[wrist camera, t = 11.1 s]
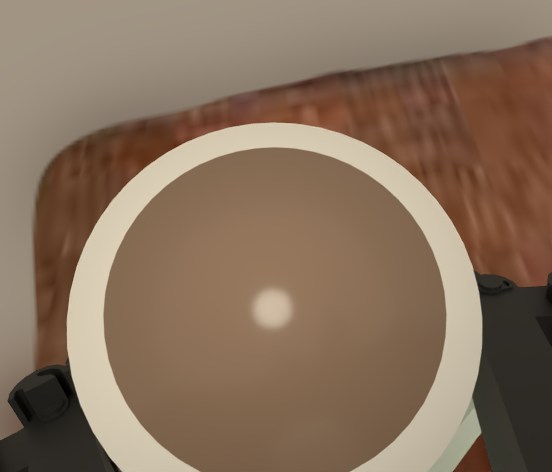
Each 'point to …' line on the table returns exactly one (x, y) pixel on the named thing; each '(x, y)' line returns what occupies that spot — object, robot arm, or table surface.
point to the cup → (274, 311)
